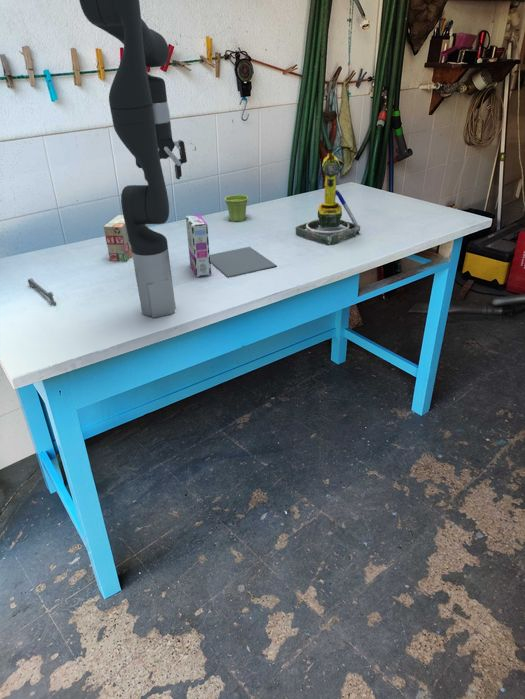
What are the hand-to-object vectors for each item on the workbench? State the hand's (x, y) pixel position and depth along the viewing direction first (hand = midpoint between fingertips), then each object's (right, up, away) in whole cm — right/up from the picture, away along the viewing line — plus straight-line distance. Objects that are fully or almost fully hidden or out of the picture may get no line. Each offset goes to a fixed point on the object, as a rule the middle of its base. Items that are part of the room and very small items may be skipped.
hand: (163, 180), depth 152 cm
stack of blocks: (-18, -15, +32) cm, 39 cm away
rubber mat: (+21, -20, +19) cm, 35 cm away
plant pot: (+19, +3, +58) cm, 61 cm away
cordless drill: (+52, -8, +39) cm, 66 cm away
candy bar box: (+9, -24, +14) cm, 30 cm away
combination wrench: (-36, -34, +2) cm, 49 cm away
